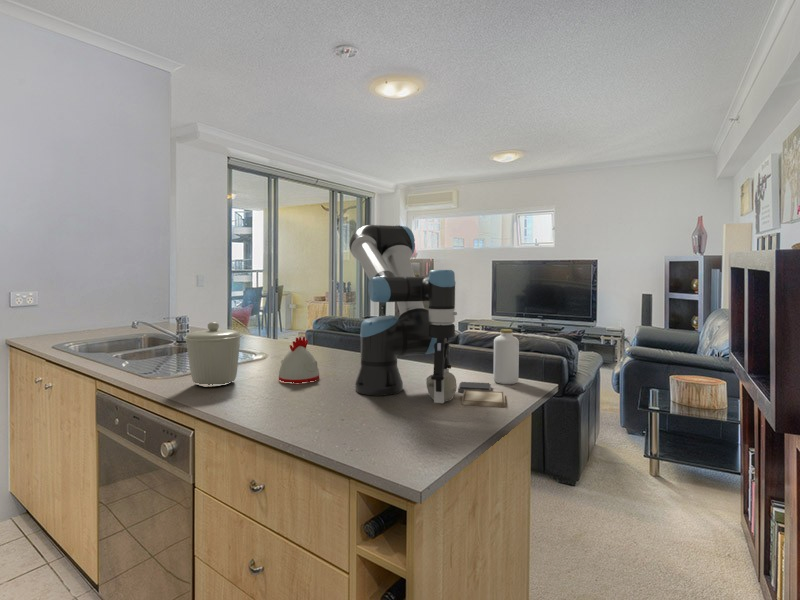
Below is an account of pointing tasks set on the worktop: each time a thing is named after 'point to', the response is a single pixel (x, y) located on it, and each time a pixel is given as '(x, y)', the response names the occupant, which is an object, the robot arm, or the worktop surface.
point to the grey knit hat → (299, 364)
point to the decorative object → (448, 386)
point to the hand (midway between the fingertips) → (441, 396)
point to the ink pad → (474, 386)
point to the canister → (213, 354)
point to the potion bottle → (506, 358)
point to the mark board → (483, 398)
